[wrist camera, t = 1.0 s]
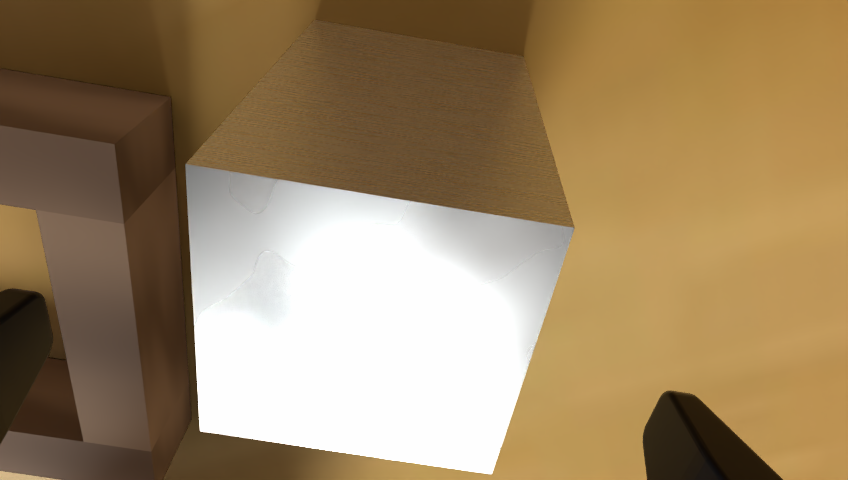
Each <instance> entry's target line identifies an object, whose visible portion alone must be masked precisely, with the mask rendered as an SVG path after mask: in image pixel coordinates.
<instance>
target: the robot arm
mask: <svg viewBox="0 0 848 480" xmlns="http://www.w3.org/2000/svg"><path fill="white" fill-rule="evenodd" d="M52 343H53V334H52V329H51V325H50V320H49V315H48V310H47V306H46V301H45V298H44V297H43V296H42V295H41V294H40V293H38V292H34V291H27V290H21V289H7V290H4V291H2V292H0V444H1V443H2V441H3V439H4V438H5V436H6V434H7V432H8V430H9V429H10V427H11V425H12V423H13V421H14V419H15V417H16V415H17V414H18V412H19V410H20V408H21V406H22V404H23V402H24V400H25V399H26V397H27V395H28V393H29V391H30V389H31V387H32V385H33V384H34V382H35V380H36V378H37V376H38V374H39V372H40V370H41V369H42V367H43V365H44V363H45V361H46V359H47V357H48V355H49V353H50V351H51V348H52ZM643 449H644V457H645V466H646V474H647V480H783V479H782V478H781V477H780V476H779V475H778V474H777V473H776V472H775V471H774V470H773V469H771V468H770V467H769V466H768V465H767V464H766V463H765V462H764V461H763V460H762V459H761V458H760V457H759V456H758V455H757V454H756V453H755V452H754V451H753V450H752V449H751V448H750V447H749V446H748V445H747V444H746V443H744V442H743V441H742V440H741V439H740V438H739V437H738V436H737V435H736V434H735V433H734V432H733V431H732V430H731V429H730V428H729V427H728V426H727V425H726V424H725V423H724V422H723V421H722V420H721V419H720V418H718V417H717V416H716V415H715V414H714V413H713V412H712V411H711V410H710V409H709V408H708V407H707V406H706V405H705V404H704V403H703V402H702V401H701V400H700V399H699V398H697V397H696V396H695V395H693V394H690V393H683V392H677V391H666V392H664V393H663V394H662V395H661V397H660V398H659V400H658V402H657V404H656V406H655V408H654V410H653V412H652V414H651V416H650V418H649V420H648V422H647V424H646V426H645V429H644V433H643Z"/></svg>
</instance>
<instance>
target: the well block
mask: <svg viewBox="0 0 848 480" xmlns="http://www.w3.org/2000/svg"><path fill="white" fill-rule="evenodd" d="M0 204H2V205H8V206H14V207H21V208H27V209H33V210H36V213H37V218H38V223H39V227H40V232H41V237H42V242H43V247H44V252H45V257H46V261H47V266H48V271H49V276H50V281H51V286H52V291H53V295H54V300H55V305H56V310H57V315H58V320H59V325H60V330H61V334H62V339H63V344H64V349H65V354H66V359H67V361H65V360H58V359H51V358H47V359H46V361H45V363H44V365H43V367H42V369H41V370H40V372H39V374H38V376H37V378H36V380H35V382H34V384H33V385H32V387H31V389H30V391H29V393H28V395H27V397H26V399H25V400H24V402H23V404H22V406H21V408H20V410H19V412H18V414H17V415H16V417H15V419H14V421H13V423H12V425H11V427H10V429H9V430H8V432H7V434H6V436H5V438H4V439H3V441H2V443H1V444H0V471H5V472H12V473H19V474H26V475H33V476H40V477H47V478H54V479H61V480H163V478H164V476H165V474H166V472H167V470H168V468H169V465H170V463H171V461H172V459H173V457H174V455H175V453H176V451H177V449H178V447H179V445H180V443H181V440H182V438H183V436H184V434H185V432H186V430H187V428H188V426H189V424H190V422H191V420H192V419H191V403H190V387H189V372H188V356H187V341H186V325H185V310H184V294H183V279H182V263H181V248H180V232H179V216H178V201H177V185H176V170H175V154H174V139H173V123H172V108H171V97H167V96H162V95H156V94H150V93H144V92H138V91H132V90H126V89H120V88H114V87H108V86H102V85H96V84H90V83H84V82H78V81H72V80H66V79H60V78H54V77H48V76H42V75H36V74H30V73H24V72H19V71H13V70H7V69H1V68H0Z"/></svg>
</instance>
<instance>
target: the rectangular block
mask: <svg viewBox="0 0 848 480" xmlns="http://www.w3.org/2000/svg"><path fill="white" fill-rule="evenodd" d="M185 168H186V186H187V204H188V223H189V241H190V260H191V278H192V296H193V315H194V333H195V351H196V370H197V388H198V406H199V425H200V431H202V432H209V433H215V434H222V435H229V436H236V437H242V438H249V439H256V440H263V441H269V442H276V443H283V444H290V445H296V446H303V447H310V448H317V449H323V450H330V451H337V452H344V453H350V454H357V455H364V456H371V457H377V458H384V459H391V460H398V461H404V462H411V463H418V464H425V465H431V466H438V467H445V468H452V469H458V470H465V471H472V472H479V473H485V474H492V472H493V469H494V466H495V463H496V460H497V458H498V455H499V452H500V449H501V446H502V443H503V440H504V437H505V434H506V431H507V428H508V425H509V422H510V419H511V416H512V413H513V410H514V407H515V404H516V401H517V398H518V395H519V392H520V389H521V386H522V383H523V380H524V377H525V374H526V371H527V368H528V365H529V362H530V359H531V356H532V353H533V350H534V347H535V344H536V341H537V338H538V335H539V332H540V329H541V326H542V323H543V321H544V318H545V315H546V312H547V309H548V306H549V303H550V300H551V297H552V294H553V291H554V288H555V285H556V282H557V279H558V276H559V273H560V270H561V267H562V264H563V261H564V258H565V255H566V252H567V249H568V246H569V243H570V240H571V237H572V234H573V231H574V224H573V221H572V218H571V214H570V211H569V208H568V204H567V201H566V197H565V194H564V191H563V187H562V184H561V181H560V177H559V174H558V171H557V167H556V164H555V160H554V157H553V154H552V150H551V147H550V144H549V140H548V137H547V134H546V130H545V127H544V123H543V120H542V117H541V113H540V110H539V107H538V103H537V100H536V96H535V93H534V90H533V86H532V83H531V80H530V76H529V73H528V70H527V66H526V63H525V59H524V56H521V55H515V54H509V53H504V52H498V51H492V50H486V49H481V48H475V47H469V46H463V45H458V44H452V43H446V42H440V41H435V40H429V39H423V38H417V37H412V36H406V35H400V34H394V33H389V32H383V31H377V30H371V29H366V28H360V27H354V26H348V25H343V24H337V23H331V22H325V21H320V20H314V21H313V22H312V23H311V24H310V25H309V26H308V27H307V29H306V30H305V31H304V32H303V33H302V34H301V35H300V36H299V38H298V39H297V40H296V41H295V42H294V43H293V44H292V45H291V46H290V48H289V49H288V50H287V51H286V52H285V53H284V54H283V55H282V57H281V58H280V59H279V60H278V61H277V62H276V63H275V64H274V65H273V67H272V68H271V69H270V70H269V71H268V72H267V73H266V74H265V76H264V77H263V78H262V79H261V80H260V81H259V82H258V83H257V84H256V86H255V87H254V88H253V89H252V90H251V91H250V92H249V93H248V95H247V96H246V97H245V98H244V99H243V100H242V101H241V102H240V103H239V105H238V106H237V107H236V108H235V109H234V110H233V111H232V112H231V114H230V115H229V116H228V117H227V118H226V119H225V120H224V121H223V123H222V124H221V125H220V126H219V127H218V128H217V129H216V130H215V131H214V133H213V134H212V135H211V136H210V137H209V138H208V139H207V140H206V142H205V143H204V144H203V145H202V146H201V147H200V148H199V149H198V150H197V152H196V153H195V154H194V155H193V156H192V157H191V158H190V159H189V161H188V162H187V163H186V164H185Z"/></svg>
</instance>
